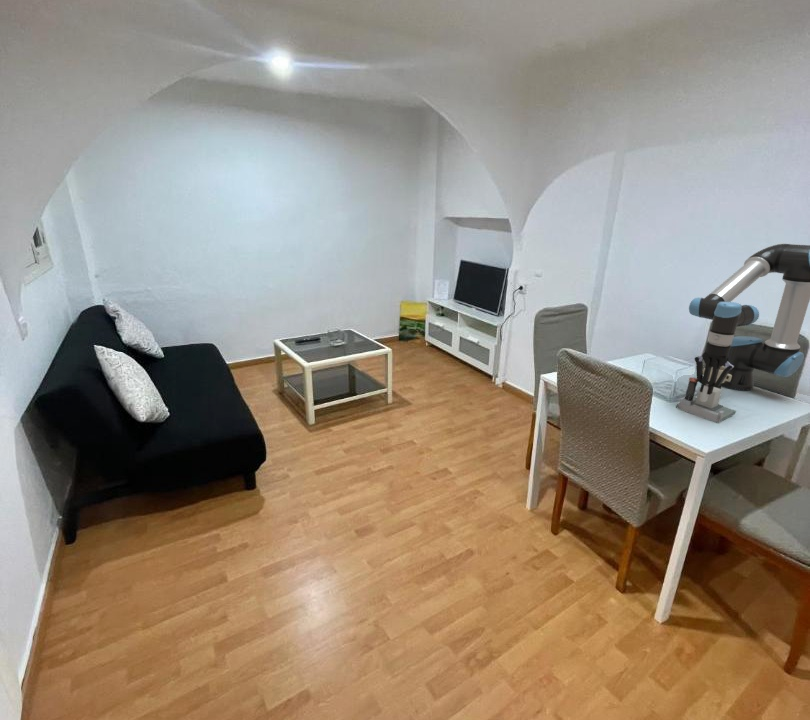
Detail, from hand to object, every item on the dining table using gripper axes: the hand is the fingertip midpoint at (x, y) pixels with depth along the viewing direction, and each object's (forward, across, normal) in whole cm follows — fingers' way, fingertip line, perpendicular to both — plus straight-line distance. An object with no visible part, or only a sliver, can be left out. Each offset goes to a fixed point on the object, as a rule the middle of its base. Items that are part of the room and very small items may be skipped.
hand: (703, 400), depth 169 cm
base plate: (+6, -1, +6) cm, 9 cm away
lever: (+3, -5, 0) cm, 6 cm away
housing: (+5, -2, +9) cm, 11 cm away
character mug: (+7, -7, +26) cm, 28 cm away
